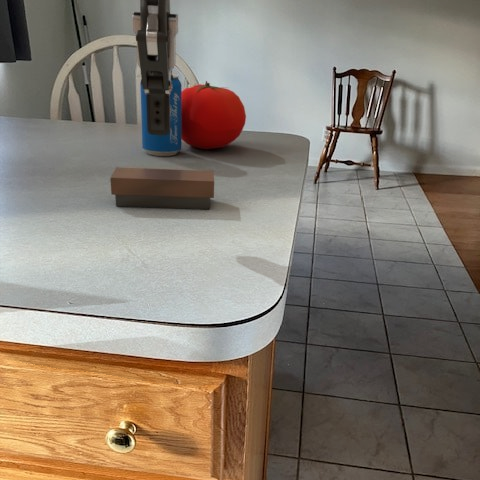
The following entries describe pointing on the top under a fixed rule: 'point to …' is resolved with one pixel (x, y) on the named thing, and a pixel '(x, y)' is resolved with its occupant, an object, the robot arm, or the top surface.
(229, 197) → the top surface
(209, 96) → the tomato
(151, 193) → the scrub brush
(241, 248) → the top surface
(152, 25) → the robot arm
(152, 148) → the beverage can
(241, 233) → the top surface
